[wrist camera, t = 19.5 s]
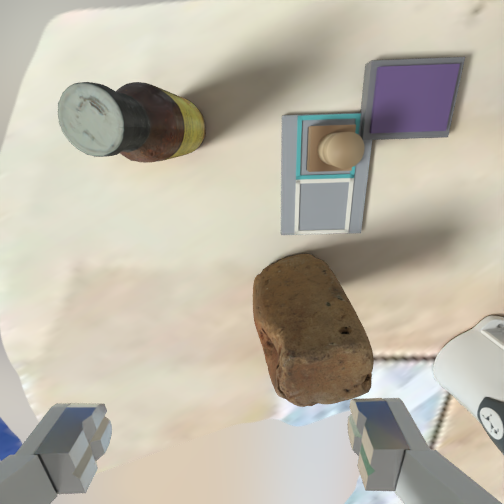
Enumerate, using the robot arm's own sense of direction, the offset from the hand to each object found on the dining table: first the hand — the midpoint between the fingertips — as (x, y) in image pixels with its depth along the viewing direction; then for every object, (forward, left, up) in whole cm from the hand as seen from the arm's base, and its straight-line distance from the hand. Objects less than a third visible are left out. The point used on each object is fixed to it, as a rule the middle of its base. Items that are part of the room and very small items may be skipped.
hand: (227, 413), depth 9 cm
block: (-6, +11, -31) cm, 34 cm away
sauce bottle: (+8, -10, -31) cm, 34 cm away
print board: (-10, -3, -31) cm, 33 cm away
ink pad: (-19, -12, -31) cm, 38 cm away
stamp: (-10, -7, -30) cm, 33 cm away
